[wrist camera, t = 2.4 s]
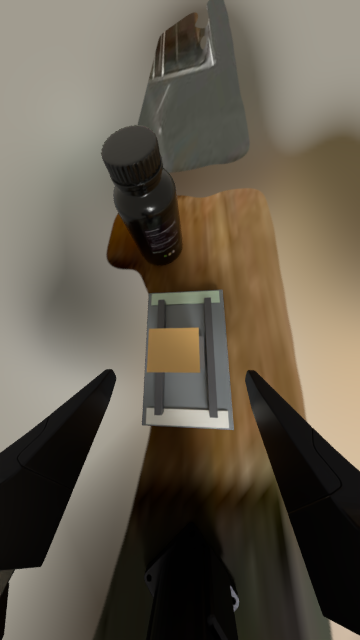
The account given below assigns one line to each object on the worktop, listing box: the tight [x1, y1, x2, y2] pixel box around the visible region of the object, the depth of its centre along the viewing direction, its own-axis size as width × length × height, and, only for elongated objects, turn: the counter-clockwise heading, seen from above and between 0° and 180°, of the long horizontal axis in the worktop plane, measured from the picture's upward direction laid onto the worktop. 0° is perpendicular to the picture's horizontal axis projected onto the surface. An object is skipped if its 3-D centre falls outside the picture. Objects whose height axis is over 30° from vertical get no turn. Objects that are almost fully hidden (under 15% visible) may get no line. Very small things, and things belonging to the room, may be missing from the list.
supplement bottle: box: [101, 125, 183, 265], centre depth 17 cm, size 7×7×12 cm
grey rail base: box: [142, 290, 234, 430], centre depth 18 cm, size 16×10×3 cm, turn 0°
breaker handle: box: [147, 328, 205, 373], centre depth 13 cm, size 4×4×9 cm
